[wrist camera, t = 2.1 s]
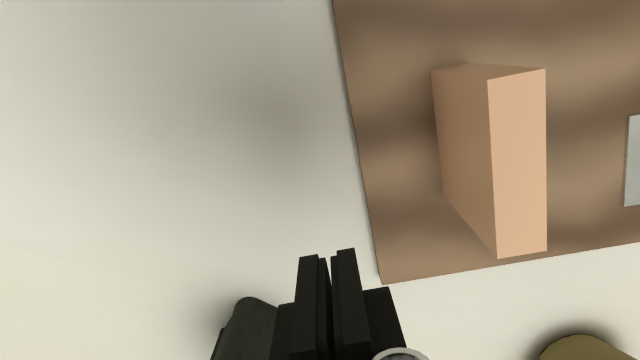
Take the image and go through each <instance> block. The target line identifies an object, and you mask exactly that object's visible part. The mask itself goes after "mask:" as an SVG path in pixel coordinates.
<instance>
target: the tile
mask: <svg viewBox="0 0 640 360" xmlns="http://www.w3.org/2000/svg"><path fill="white" fill-rule="evenodd" d="M430 71H431V81H432V90H433V100H434V110H435V120H436V130H437V139H438V149H439V159H440V169H441V179H442V188H443V196H444V197H445V198H446V199H447V200H448V202H449V203H450V204H451V205H452V206H453V207H454V209H455V210H456V211H457V212H458V213H459V214H460V216H461V217H462V218H463V219H464V220H465V222H466V223H467V224H468V225H469V226H470V227H471V229H472V230H473V231H474V232H475V233H476V235H477V236H478V237H479V238H480V239H481V240H482V242H483V243H484V244H485V245H486V246H487V248H488V249H489V250H490V251H491V252H492V253H493V255H494V256H495V257H496V258H497V259H501V258H507V257H513V256H519V255H525V254H530V253H536V252H542V251H547V193H546V71H545V68H536V67H523V66H510V65H497V64H484V63H472V62H467V63H462V64H457V65H452V66H447V67H442V68H438V69H433V70H430Z"/></svg>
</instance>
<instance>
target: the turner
mask: <svg viewBox="0 0 640 360" xmlns="http://www.w3.org/2000/svg"><path fill="white" fill-rule="evenodd" d="M638 204H640V113H638V114H633V115H628V116H627V120H626V137H625V153H624V170H623V187H622V203H621V205H622V206H623V207H626V206H632V205H638Z"/></svg>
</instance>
